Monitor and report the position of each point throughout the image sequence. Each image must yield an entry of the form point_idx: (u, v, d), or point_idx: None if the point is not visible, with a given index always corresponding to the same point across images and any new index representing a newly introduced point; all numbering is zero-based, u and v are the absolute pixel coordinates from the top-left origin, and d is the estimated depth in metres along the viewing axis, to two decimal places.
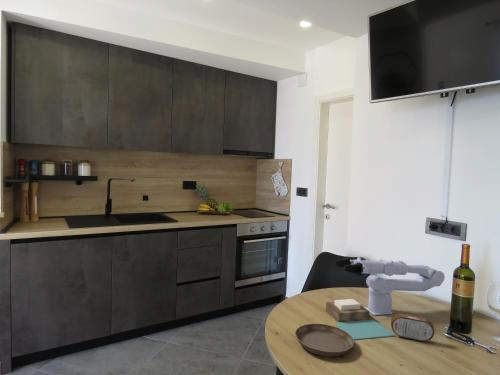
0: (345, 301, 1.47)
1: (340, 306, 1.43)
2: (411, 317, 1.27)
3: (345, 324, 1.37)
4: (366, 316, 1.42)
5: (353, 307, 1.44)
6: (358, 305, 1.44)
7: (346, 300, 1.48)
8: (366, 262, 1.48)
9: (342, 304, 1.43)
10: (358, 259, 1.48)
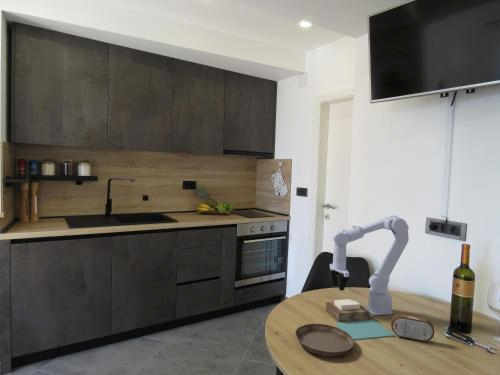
0: (345, 301, 1.47)
1: (340, 306, 1.43)
2: (411, 317, 1.27)
3: (345, 324, 1.37)
4: (366, 316, 1.42)
5: (353, 307, 1.44)
6: (358, 305, 1.44)
7: (346, 300, 1.48)
8: (336, 263, 1.52)
9: (342, 304, 1.43)
10: None
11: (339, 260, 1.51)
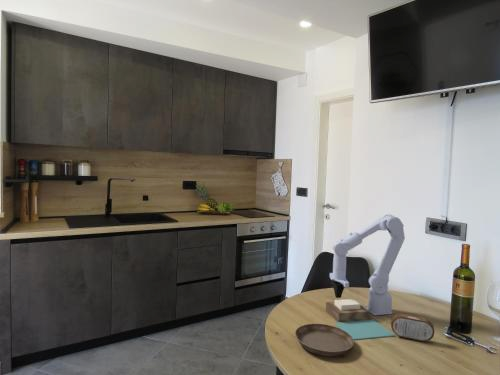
0: (345, 301, 1.47)
1: (340, 306, 1.43)
2: (411, 317, 1.27)
3: (345, 324, 1.37)
4: (366, 316, 1.42)
5: (353, 307, 1.44)
6: (358, 305, 1.44)
7: (346, 300, 1.48)
8: (336, 273, 1.52)
9: (342, 304, 1.43)
10: None
11: (339, 270, 1.51)
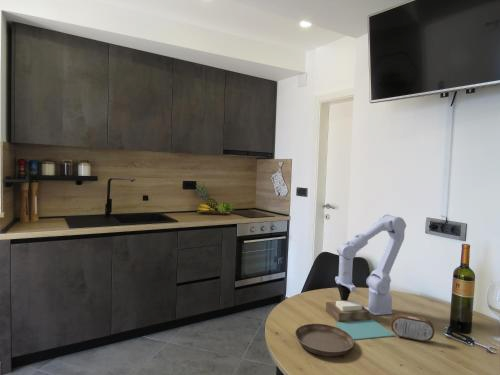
0: (347, 302, 1.45)
1: (341, 307, 1.42)
2: (411, 317, 1.27)
3: (345, 324, 1.37)
4: (366, 316, 1.42)
5: (354, 308, 1.42)
6: (360, 306, 1.43)
7: (348, 301, 1.47)
8: (342, 277, 1.46)
9: (343, 305, 1.42)
10: None
11: (345, 274, 1.46)
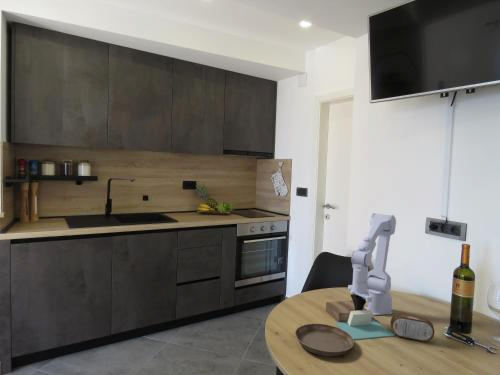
0: (360, 318, 1.35)
1: (349, 323, 1.36)
2: (411, 317, 1.27)
3: (345, 324, 1.37)
4: None
5: None
6: None
7: (364, 316, 1.35)
8: (356, 286, 1.35)
9: (352, 324, 1.35)
10: None
11: (360, 282, 1.34)
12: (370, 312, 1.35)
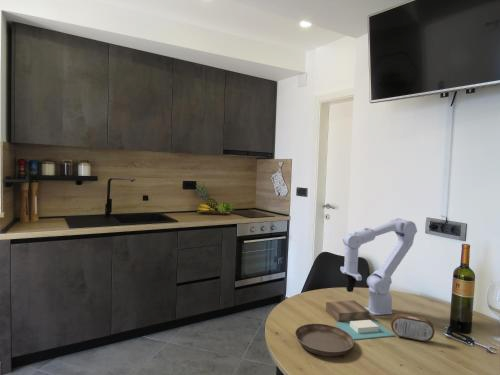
0: None
1: (350, 325, 1.35)
2: (411, 317, 1.27)
3: (345, 324, 1.37)
4: (366, 316, 1.42)
5: None
6: None
7: None
8: (348, 266, 1.47)
9: None
10: None
11: (351, 263, 1.47)
12: (376, 330, 1.31)
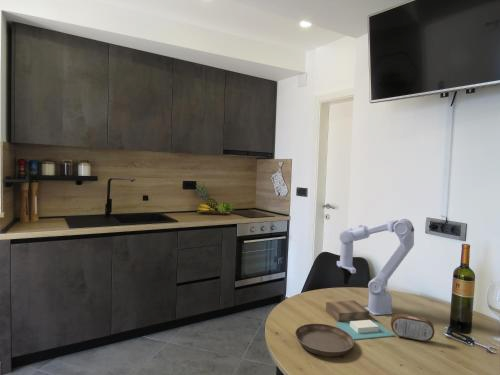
0: None
1: (350, 325, 1.35)
2: (411, 317, 1.27)
3: (345, 324, 1.37)
4: (366, 316, 1.42)
5: None
6: None
7: None
8: (343, 260, 1.57)
9: None
10: (340, 266, 1.59)
11: (346, 257, 1.57)
12: (376, 330, 1.31)
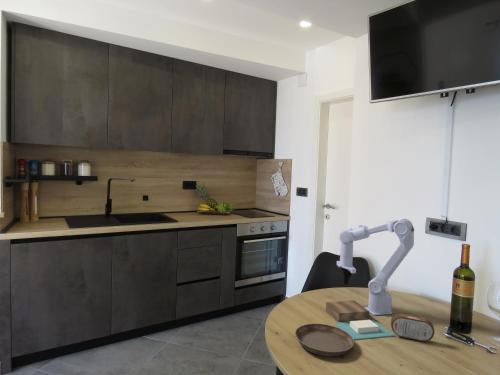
0: None
1: (350, 325, 1.35)
2: (411, 317, 1.27)
3: (345, 324, 1.37)
4: (366, 316, 1.42)
5: None
6: None
7: None
8: (343, 260, 1.57)
9: None
10: (340, 266, 1.59)
11: (346, 257, 1.57)
12: (376, 330, 1.31)
